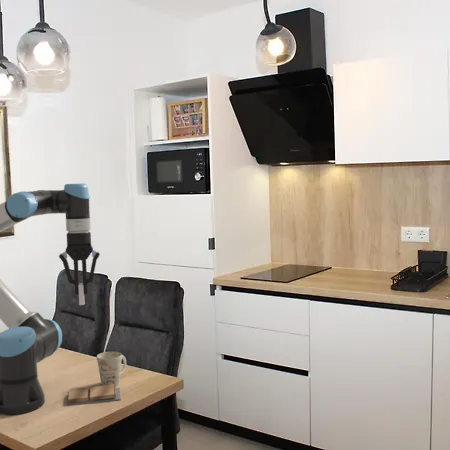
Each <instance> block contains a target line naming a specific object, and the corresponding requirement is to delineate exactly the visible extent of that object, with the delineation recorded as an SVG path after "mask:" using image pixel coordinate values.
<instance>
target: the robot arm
mask: <svg viewBox="0 0 450 450" xmlns="http://www.w3.org/2000/svg"><path fill="white" fill-rule="evenodd" d="M89 192H90V191H89V186H88V184H86V183H65V184H64V186H63V189H61V190H60V189H58V190H56V189H55V190H54V189H51V190H49V189H47V190H46V189H40V190H33V191H25V190H24V191H18V192H16V193H12V194H11V195H10V196H8V199H7V200H5V201H4V202H1V203H0V233H1V232H3V231H5V230H8V228H11V227H13V226H15V225H16V224H18V223H20V222H23V221H25V220H27V219H29V218H32V217H34V216H35V217H36V216H43V215H49V214H51V215H52V214H53V215H54V214H65V228H66V229H65V230H66V231H67V232H66V248H65V251H64V252H62V253H60V254H59V255H58V257H59V259H60V260H61V261H62V264H63V268H64V270H65V273H66V278H67V281H68V283H69V284H73V285H74V293H75V295H78V300H79V301H78V304H79V306H84V305H85V295H88V291H89V290H88V284H89V283H92V282H93V279H94V274H95V270H96V269H95V268H96V264H97V260H98V259H99V257H100V255H101V253H100V251H96V250H95V249H94V248H93V246H92V235H91V232H90V230H91V215H90V212H91V211H90V194H89ZM90 255H91V257H92V263H91V266H90V270H89V271H90V272H89V276H88V272H87V259H88V258H90ZM68 257H70V259H71V260H72V261H73V272H74V273H73V275H74V278H73V275H72V272H71V268H70V265H69V262H68V259H67V258H68ZM79 261H81V268H82V269H81V272H82V273H81V274H82V283H80V278H79V277H80V275H79ZM0 321H1V322H2V323H3V324H4V325H5V326H6V327H7V328H8V329H6V330H3V331H2V332H0V415H7V416H8V415H21V414H26V413H30V412H32V411H35V410H37V409H39V408H41V407H42V406H43V405H44V404H45V402H46V399H45V393H44V391H43V388H42V386H41V383H40V381H39V378H38V377H39V376H38V363H40V362H41V361H43V360H45V359H47V358H49V357H51V356H52V355H53V354H54V353H55V352H56V351H57V350H58V349H59V348H61V345H62V342H63V331H62V329H61V327H60V325H59V323H57V322H56V321H54V320H53V319H48V318H44V317H43V316H42V315H41V314H40V313H39V312H38V311H30V310H29V308H28V307H27V306H26V305H25V304H24V303H23V302H22V301H21V300H20V299H19V298H18V296H17V295H16V294H14V293H13V292H12V290H11V289H10V288H9V287H8V286H7V285H6V284H5V283H4V282H3V280H2V279H0Z"/></svg>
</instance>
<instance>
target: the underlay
mask: <svg viewBox="0 0 450 450" xmlns="http://www.w3.org/2000/svg"><path fill="white" fill-rule="evenodd" d="M116 401H118V402H119V401H121V387H116V398H108V399H101V400H94V401H90V397H89V401H88V402H78V403H68V402H67V405H68V406H73V405H76V406H77V405H86V404H95V403H96V404H97V403H104V402H106V403H108V402H116Z"/></svg>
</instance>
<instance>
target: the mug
mask: <svg viewBox="0 0 450 450" xmlns="http://www.w3.org/2000/svg"><path fill="white" fill-rule="evenodd" d="M96 361H97V367H98V373H99V378H100V383H101V386H103V385H110V384H116V386H118V385H119V384H120V383H121V380H120V379H121V376H122V375H123V374H124V373H125V372H126V371H125V370H126V368H127V359H126V357H125V356H124V355H123V354H122V353H121V352H119V351H105V352H101V353H98V354H97V355H96ZM122 362H123V366H122Z"/></svg>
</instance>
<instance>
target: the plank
mask: <svg viewBox="0 0 450 450" xmlns="http://www.w3.org/2000/svg"><path fill="white" fill-rule="evenodd" d="M116 386H117V385H116V384H110V385H103V386H102V385H96V386H91V387H90V389H89V390H90V401H94V400H101V399H108V398H116V388H117V387H116Z"/></svg>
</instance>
